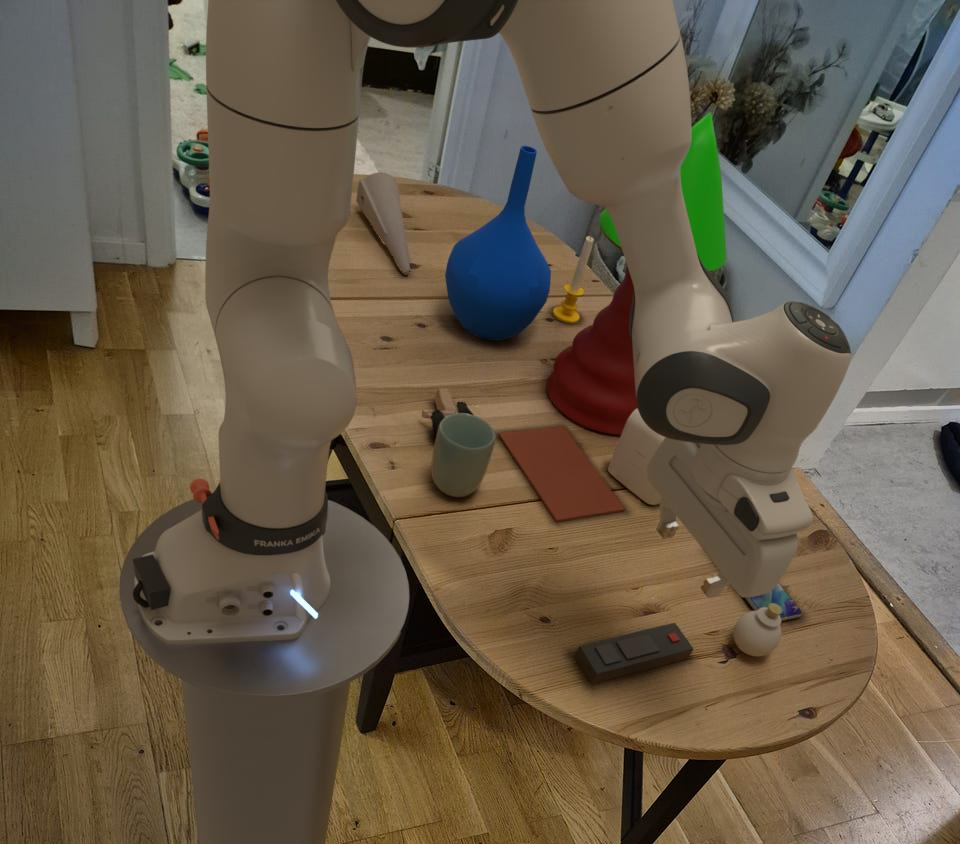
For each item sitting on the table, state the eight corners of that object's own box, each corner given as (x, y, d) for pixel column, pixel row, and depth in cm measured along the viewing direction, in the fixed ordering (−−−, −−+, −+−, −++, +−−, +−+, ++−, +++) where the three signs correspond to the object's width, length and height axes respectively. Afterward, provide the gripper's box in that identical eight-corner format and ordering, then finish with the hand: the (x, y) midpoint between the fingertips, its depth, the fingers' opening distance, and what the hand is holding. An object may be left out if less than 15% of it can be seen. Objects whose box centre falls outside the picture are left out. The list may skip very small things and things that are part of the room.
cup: (491, 491, 120) (507, 436, 113) (455, 512, 116) (469, 456, 108) (452, 462, 123) (466, 406, 115) (416, 481, 118) (427, 424, 111)
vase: (532, 308, 157) (579, 139, 135) (539, 362, 145) (592, 187, 123) (437, 290, 154) (469, 114, 131) (437, 344, 142) (472, 160, 120)
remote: (591, 684, 101) (597, 672, 99) (573, 656, 103) (579, 644, 102) (687, 659, 107) (694, 647, 105) (668, 632, 110) (675, 621, 108)
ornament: (718, 632, 112) (751, 581, 104) (763, 628, 114) (799, 578, 107) (737, 667, 108) (774, 618, 101) (784, 662, 111) (823, 614, 103)
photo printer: (601, 470, 129) (629, 403, 120) (619, 462, 132) (647, 396, 122) (649, 509, 125) (681, 444, 116) (666, 500, 128) (699, 436, 119)
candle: (579, 325, 157) (606, 245, 145) (553, 320, 156) (577, 238, 144) (578, 311, 160) (603, 232, 148) (552, 306, 159) (576, 225, 148)
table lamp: (678, 420, 143) (810, 140, 109) (600, 449, 133) (720, 150, 99) (601, 358, 151) (702, 78, 117) (522, 381, 141) (608, 81, 107)
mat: (556, 522, 119) (556, 519, 119) (498, 435, 129) (498, 432, 129) (623, 511, 124) (624, 508, 124) (562, 428, 134) (563, 425, 134)
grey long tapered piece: (448, 254, 154) (401, 173, 165) (406, 254, 150) (360, 171, 161) (438, 291, 160) (393, 210, 171) (397, 291, 157) (354, 208, 167)
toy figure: (408, 405, 130) (441, 464, 121) (418, 370, 125) (453, 427, 117) (448, 408, 133) (484, 464, 124) (459, 373, 129) (497, 429, 120)
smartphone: (746, 540, 124) (805, 613, 116) (743, 544, 125) (801, 617, 117) (708, 545, 121) (766, 621, 113) (706, 549, 122) (763, 625, 114)
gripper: (660, 406, 87) (617, 505, 97) (776, 541, 76) (714, 635, 87) (706, 401, 89) (660, 497, 100) (825, 530, 79) (759, 623, 89)
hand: (685, 562), depth 93 cm, fingers open, 8 cm apart
